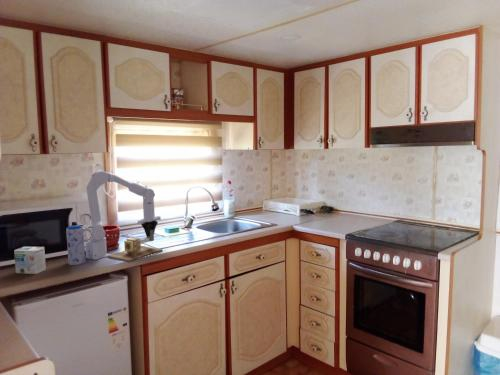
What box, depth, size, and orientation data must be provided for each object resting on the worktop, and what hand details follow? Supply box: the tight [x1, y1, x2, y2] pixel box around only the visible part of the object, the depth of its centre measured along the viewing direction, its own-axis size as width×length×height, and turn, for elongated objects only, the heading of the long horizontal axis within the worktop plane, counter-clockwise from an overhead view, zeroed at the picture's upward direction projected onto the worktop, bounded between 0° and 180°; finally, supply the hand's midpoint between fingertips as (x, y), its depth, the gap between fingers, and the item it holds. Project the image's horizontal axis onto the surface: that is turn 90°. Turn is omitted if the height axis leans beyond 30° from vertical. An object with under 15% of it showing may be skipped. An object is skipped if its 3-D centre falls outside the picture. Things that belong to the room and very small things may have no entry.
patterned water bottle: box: [65, 221, 87, 266], centre depth 191 cm, size 8×8×20 cm
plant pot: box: [102, 224, 121, 251], centre depth 215 cm, size 13×13×12 cm
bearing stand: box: [107, 236, 163, 263], centre depth 203 cm, size 22×16×8 cm
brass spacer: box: [123, 240, 134, 252], centre depth 200 cm, size 2×5×5 cm, turn 57°
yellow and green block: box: [140, 229, 155, 245], centre depth 207 cm, size 14×3×6 cm, turn 147°
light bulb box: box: [13, 246, 47, 275], centre depth 179 cm, size 11×7×11 cm, turn 81°
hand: (150, 235), depth 212 cm, fingers closed on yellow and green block, 2 cm apart
